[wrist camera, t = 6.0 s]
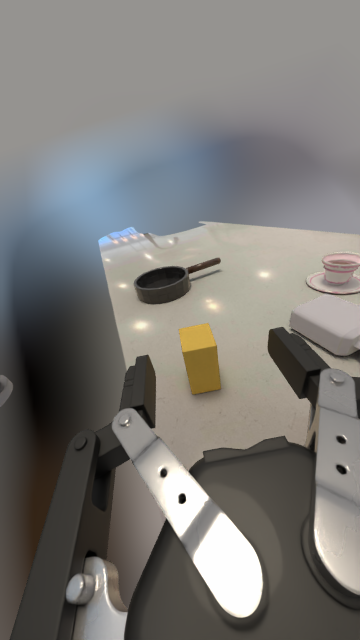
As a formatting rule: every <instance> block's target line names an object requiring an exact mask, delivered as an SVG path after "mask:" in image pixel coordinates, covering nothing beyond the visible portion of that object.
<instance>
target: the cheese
mask: <svg viewBox="0 0 360 640" xmlns="http://www.w3.org/2000/svg"><path fill="white" fill-rule="evenodd" d="M179 334H180V340H181V347H182V353H183V357H184V361H185V366H186V370H187V374H188V378H189V382H190V387H191V391H192V394H198V393H203V392H208V391H214V390H219V389H221V385H220V375H219V364H218V354H217V345H216V342H215V340H214V337H213V334H212V332H211V329H210V327H209V324H208V323H206V324H201V325H196V326H191V327H186V328H181V329H179Z"/></svg>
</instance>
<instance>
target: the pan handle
mask: <svg viewBox="0 0 360 640" xmlns="http://www.w3.org/2000/svg"><path fill="white" fill-rule="evenodd" d="M220 262H221V260H220V258H215V259H212V260H209V261H206V262H203V263H200V264H197V265H194V266H191V267H188V268H186V269H187V270H188V273H189V274H190V273H193V272H196V271H199V270H202V269H205V268H208V267H211V266H214V265H217V264H219V263H220Z"/></svg>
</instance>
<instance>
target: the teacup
mask: <svg viewBox="0 0 360 640" xmlns="http://www.w3.org/2000/svg"><path fill="white" fill-rule="evenodd" d="M322 262H323V264H324V268H325V271H322V272H317V273H313V274H311V275H309V276H308V277H307V278H306V283H307V284H308V285H309V286H310V287H312V288H314V289H316V290H319V291H322V292H327V293H334V294H349V293H356V292H360V276H359V275H356V274H354V271H355V270H356V269H358V267H359V266H360V254H357V253H353V252H333V253H329V254H326V255H325V256H323V257H322Z"/></svg>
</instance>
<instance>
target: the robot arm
mask: <svg viewBox="0 0 360 640" xmlns="http://www.w3.org/2000/svg"><path fill="white" fill-rule="evenodd" d="M268 352H269V354H270V356H271V358H272V359H273V361H274V362H275V364H276V365H277V367H278V368H279V370H280V371H281V372H282V374H283V375H284V377H285V378H286V380H287V381H288V383H289V384H290V386H291V387H292V389H293V390H294V392H295V393H296V395H297V396H298V398H299V399H302V398H308V400H309V401H310V403H311V404H310V412H309V421H308V431H307V438H306V442H305V447H304V446H302V445H299V444H296V443H291V442H288V441H287V439H286V437H285V436H281V437H276V438H271V439H265V440H263V441H261V442H259V443H257V444H256V445H254V446H252V447H250V448H248V449H245V450H242V449H232V448H218V449H213V450H208V451H203V455H204V458H202V459H200V460H199V461H197V462H196V463H195V464H194V465H193V466H192V467H191V468H190V470H189V471H187V469H186V468H185V467H184V466H183V465H182V463H181V462H180V461H179V460H178V459H177V457H176V456H175V455H174V454H173V453H172V451H171V450H170V449H169V448H168V447H167V445H166V444H165V443H164V442H163V441H162V439H161V438H160V437H157V436H156V434H155V433H154V432H153V431H152V430H151V428H155V411H156V376H155V371H154V368H153V365H152V363H151V360H150V357H149V355H144V356H139V357H137V358H136V363H135V366H130V367H129V369H128V371H127V372H126V375H125V382H124V388H123V392H122V398H121V404H120V409H119V413H118V414H117V415H116V416H115V417H114V419H113V421H112V422H111V423H110V424H109V425H107V426H105V427H104V428H102V429H100V430H98V431H96V432H94V431H92V430H89V429H87V430H83V431H81V432H79V433H78V434H76V435H75V436H74V437H73V438H72V440H71V441H70V443H69V445H68V447H67V451H66V454H65V457H64V461H63V464H62V467H61V471H60V474H59V477H58V481H57V484H56V487H55V491H54V494H53V497H52V501H51V504H50V507H49V511H48V514H47V518H46V521H45V524H44V527H43V530H42V534H41V537H40V541H39V544H38V547H37V551H36V554H35V557H34V561H33V564H32V567H31V570H30V574H29V577H28V580H27V584H26V587H25V590H24V594H23V597H22V600H21V604H20V607H19V611H18V614H17V617H16V620H15V624H14V627H13V630H12V634H11V637H10V640H360V377H351V376H350V375H348V374H347V373H345V372H343V371H341V370H338V369H332V368H330V367H329V366H328V365H327V364H326V363H325V362H324V361H323V359H322V358H321V357H320V356H319V355H318V354H317V353H316V352H315V351H314V350H313V349H311V347H310V346H309V345H307V343H306V342H305V341H304V340H303V339H302V338H301V337H299V336H297V335H296V334H294V333H291V334H289V333H288V332H287V331H286V330H285V328H283V327H279V328H275V329H270V330H269V338H268ZM129 459H131V460H132V463H133V465H134V466H135V468H136V470H137V471H138V473H139V475H140V476H141V478H142V479H143V481H144V483H145V484H146V486H147V487H148V489H149V491H150V492H151V494H152V495H153V497H154V499H155V500H156V502H157V503H158V505H159V507H160V508H161V510H162V512H163V513H164V515H165V516H166V521H165V523H164V525H163V527H162V530H161V532H160V534H159V536H158V539H157V541H156V544H155V545H154V548H153V550H152V552H151V555H150V557H149V559H148V562H147V564H146V566H145V568H144V570H143V573H142V575H141V577H140V580H139V582H138V584H137V586H136V589H135V591H134V593H133V596H132V599H131V602H130V605H129V609H127V608H126V607H125V606H124V604H123V603H122V600H121V597H120V594H119V578H118V573H117V569H116V567H115V565H114V564H113V563H112V562H111V561H108V560H106V558H107V549H108V539H109V528H110V519H111V509H112V499H113V490H114V480H115V469H116V467H117V466H119V465H121V464H122V463H124V462H126V461H128V460H129Z"/></svg>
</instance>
